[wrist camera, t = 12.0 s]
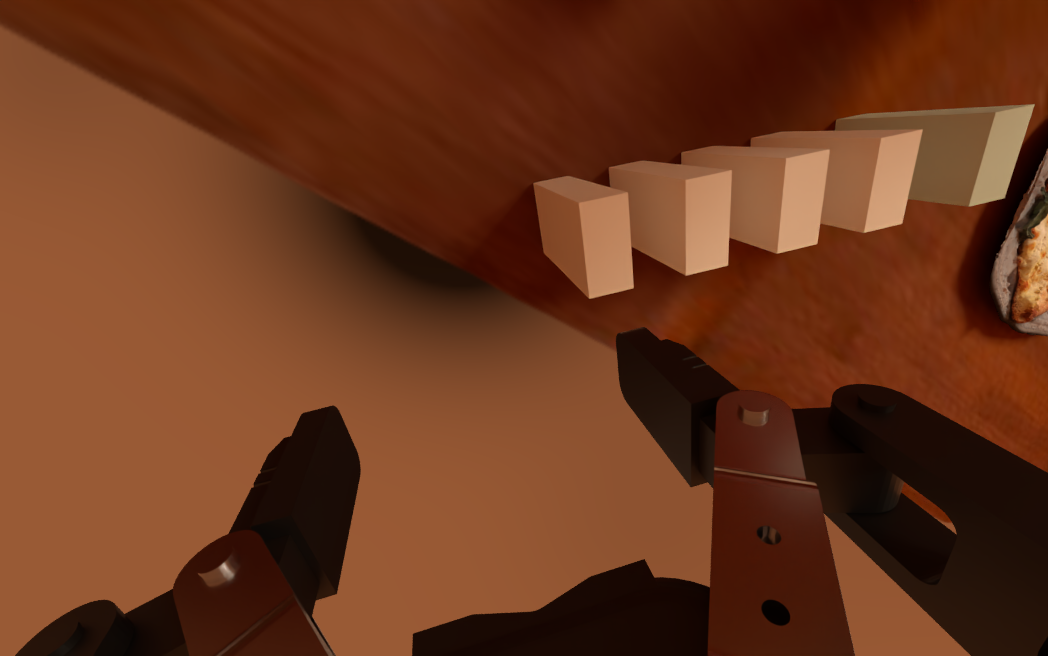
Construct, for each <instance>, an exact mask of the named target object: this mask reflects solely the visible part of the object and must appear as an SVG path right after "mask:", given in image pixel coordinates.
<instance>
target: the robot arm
mask: <svg viewBox="0 0 1048 656" xmlns="http://www.w3.org/2000/svg"><path fill="white" fill-rule="evenodd" d="M616 348H617V359H618V372H619V382H620V387H621V391H622V394H623V396H624V398H625V400H626V402H627V403H628V405H629V406H630V408H631V409H632V410H633V411H634V413H635V414H636V415H637V417H638V418H639V419H640V421H641V422H642V423H643V425H644V426H645V427H646V429H647V430H648V431H649V432H650V434H651V435H652V436H653V438H654V439H655V440H656V442H657V443H658V444H659V446H660V447H661V448H662V450H663V451H664V452H665V454H666V455H667V456H668V458H669V459H670V460H671V462H672V463H673V464H674V465H675V467H676V468H677V470H678V471H679V472H680V473H681V475H682V476H683V477H684V479H685V480H686V481H687V483H688V484H689V485H690V487H693V486H697V485H700V484H703V483H707V482H708V483H709V484H710V485H711V487H712V488H713V490H714V491H713V516H712V517H713V518H712V545H711V572H710V573H711V574H710V587H707V586H705V585H701V584H698V583H695V582H691V581H686V580H682V579H676V578H664V577H660V578H654V576H653V575H652V573H651V571H650V569H649V567H648V565H647V563H646V561H645V559H644V560H640V561H637V562H634V563H631V564H628V565H625V566H622V567H619V568H616V569H613V570H609V571H606V572H603V573H600V574H597V575H594V576H591V577H589V578H588V579H586V580H584V581H583V582H581V583H580V584H578V585H577V586H575V587H574V588H572V589H570V590H569V591H567V592H566V593H564V594H563V595H561V596H560V597H558V598H557V599H555V600H554V601H552V602H550V603H549V604H547V605H546V606H544V607H543V608H541V609H539V610H537V611H533V612H517V613H497V614H474V615H470V616H467V617H464V618H461V619H457V620H454V621H451V622H448V623H445V624H442V625H439V626H436V627H432V628H430V629H427V630H423V631H420V632H417V633H414V634H413V648H412V656H855V653H854V648H853V644H852V640H851V635H850V630H849V626H848V621H847V617H846V612H845V608H844V603H843V599H842V594H841V590H840V585H839V580H838V576H837V571H836V567H835V562H834V559H833V553H832V549H831V544H830V540H829V535H828V531H827V527H826V522H825V517H824V514H825V515H826V516H827V517H828V518H830V519H831V520H832V521H833V522H834V523H835V524H836V525H837V526H838V527H839V528H840V529H841V530H842V531H843V532H844V533H845V534H846V535H847V536H848V537H849V538H850V539H851V540H852V541H853V542H855V544H856V545H857V546H858V547H860V548H861V549H862V550H863V551H864V552H865V553H866V554H867V555H868V556H869V557H870V558H871V559H872V560H873V561H874V562H875V563H876V564H877V565H878V566H879V567H880V568H881V569H882V570H883V571H884V572H885V573H886V574H887V575H888V576H889V577H890V578H891V579H893V580H894V581H895V582H896V583H897V584H898V585H899V586H900V587H901V588H902V589H903V590H904V591H905V592H906V593H907V594H908V595H909V596H910V597H911V598H912V599H913V600H914V601H915V602H916V603H917V604H918V605H919V606H920V607H921V608H922V609H923V610H924V611H926V612H927V613H928V614H929V615H930V616H931V617H932V618H933V619H934V620H935V621H936V622H937V623H938V624H939V625H940V626H941V627H942V628H943V629H944V630H945V631H946V632H947V633H948V634H949V635H950V636H951V637H952V638H953V639H955V641H957V642H958V643H959V644H960V645H961V646H962V647H963V648H964V649H965V650H966V651H967V652H968V653H969V654H970V655H971V656H1048V473H1047V472H1045V471H1043V470H1042V469H1040V468H1038V467H1036V466H1034V465H1032V464H1031V463H1029V462H1027V461H1025V460H1023V459H1022V458H1020V457H1018V456H1016V455H1014V454H1012V453H1011V452H1009V451H1007V450H1005V449H1003V448H1002V447H1000V446H998V445H996V444H994V443H992V442H991V441H989V440H987V439H985V438H983V437H981V436H980V435H978V434H976V433H974V432H972V431H971V430H969V429H967V428H965V427H963V426H961V425H960V424H958V423H956V422H954V421H952V420H950V419H949V418H947V417H945V416H943V415H941V414H940V413H938V412H936V411H934V410H932V409H930V408H929V407H927V406H925V405H923V404H921V403H919V402H918V401H916V400H914V399H912V398H910V397H909V396H907V395H905V394H903V393H901V392H898V391H895V390H893V389H889V388H886V387H881V386H876V385H869V384H853V385H847V386H843V387H840V388H839V389H837V390H836V391H835V392H834V393H833V395H832V401H831V407H828V408H806V409H791V408H790V407H789V406H788V405H787V404H786V403H785V402H784V401H782V400H781V399H779V398H777V397H775V396H773V395H770V394H767V393H764V392H759V391H752V390H741V391H740V390H739V389H738V388H736V387H735V386H734V385H733V384H731V383H730V382H729V381H728V380H726V379H725V378H724V377H723V376H722V375H720V374H719V373H718V372H717V371H715V370H714V369H713V368H712V367H710V366H709V365H706V363H705V362H704V361H703V360H702V359H700V358H699V357H696V355H695V354H694V353H693V352H692V351H690V350H689V349H688V348H687V347H685V346H684V345H681V344H679V343H676V342H673V341H671V340H668V339H665V340H662V341H661V340H659V339H658V338H657V337H656V336H655V335H654V334H652V333H651V332H650V331H649V330H648V329H647V328H645V327H641V328H637V329H634V330H630V331H626V332H622V333H618V334H617V336H616ZM360 470H361V469H360V461H359V456H358V453H357V450H356V448H355V446H354V443H353V441H352V439H351V437H350V434H349V432H348V430H347V428H346V425H345V423H344V421H343V418H342V416H341V414H340V412H339V410H338V409H337V408H336V407H335V406H329V407H325V408H321V409H318V410H313V411H310V412H306V413H303V414H302V415H301V416H300V418H299V421H298V422H297V425H296V427H295V429H294V431H293V433H292V436H290V437H286V438H284V439H283V440H282V441H281V442H280V443H279V444H278V445H277V446H276V447H275V448H274V449H273V450H272V451H271V452H270V453H269V454H268V456H267V458H266V460H265V462H264V464H263V466H262V468H261V470H260V471H261V473H260V474H258V476H257V478H256V480H255V482H254V487H253V488H251V490H250V492H249V494H248V496H247V498H246V500H245V502H244V504H243V506H242V508H241V510H240V512H239V514H238V516H237V518H236V520H235V522H234V524H233V526H232V528H231V530H230V532H229V534H227V535H225V536H223V537H221V538H219V539H217V540H215V541H214V542H212V543H210V544H209V545H207V546H206V547H205V548H203V549H202V550H201V551H200V552H198V553H197V554H196V555H195V556H194V557H193V558H192V559H191V560H190V561H189V562H188V563H187V564H186V565H185V566H184V568H183V569H182V570H181V572H180V573H179V575H178V577H177V579H176V581H175V583H174V586H173V589H172V590H170V591H168V592H166V593H164V594H162V595H160V596H158V597H156V598H154V599H153V600H151V601H149V602H147V603H145V604H143V605H141V606H139V607H137V608H135V609H133V610H131V611H130V612H128V613H126V614H124V613H123V612H122V611H121V610H120V609H119V608H118V607H117V606H116V605H115V604H114V603H113V602H111V601H109V600H98V601H93V602H90V603H87V604H84V605H82V606H80V607H78V608H75V609H73V610H71V611H70V612H68V613H66V614H64V615H63V616H61V617H60V618H58V619H56V620H55V621H54V622H52V623H51V624H49V625H48V626H47V627H45V628H44V629H43V630H41V631H40V632H39V633H38V634H37V635H35V636H34V637H33V638H32V639H31V640H30V641H29V642H28V643H27V644H26V645H25V646H24V647H23V648H22V649H21V650H20V651H19V652H18V653H17V654H16V655H15V656H336V655H335V653H334V652H333V650H332V648H331V647H330V645H329V643H328V642H327V640H326V638H325V637H324V635H323V633H322V632H321V630H320V628H319V627H318V625H317V623H316V622H315V620H314V619H313V617H312V614H313V609H314V605H315V601H316V600H319V599H322V598H325V597H328V596H332V595H335V594H337V590H338V585H339V580H340V575H341V570H342V565H343V560H344V555H345V550H346V545H347V540H348V535H349V529H350V525H351V519H352V515H353V510H354V505H355V500H356V494H357V490H358V484H359V479H360ZM904 482H905V483H907V484H908V485H909V486H911V487H912V488H914V489H915V490H916V491H918V492H919V493H920V494H922V495H923V496H924V497H926V498H927V499H928V500H930V501H931V502H933V503H934V504H935V505H937V506H938V507H939V508H940V509H942V510H943V511H944V512H945V513H946V515H947V516H948V517H949V518H950V520H951V521H952V523H953V525H954V527H955V529H956V533H957V535H956V534H955V533H954V532H952V531H951V530H950V529H948V528H947V527H946V526H944V525H943V524H942V523H940V522H939V521H938V520H937V519H935V518H934V517H933V516H931V515H930V514H929V513H927V512H926V511H925V510H923V509H922V508H921V507H920V506H918V505H917V504H916V503H914V502H913V501H912V500H910V499H909V498H908V497H906V496H905V495H904V494H903V493H901V490H902V487H903V484H904Z"/></svg>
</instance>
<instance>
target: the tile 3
mask: <svg viewBox="0 0 1048 656" xmlns="http://www.w3.org/2000/svg"><path fill="white" fill-rule="evenodd" d="M829 153H830V149H811V148H775V147H739V146H710V147H705V148H700V149H695V150H690V151H686V152H681V165H689V166H698V167H708V168H717V169H726V170H732V182H731V205H730V229H729V238H732V239H735V240H738V241H741V242H744V243H747V244H750V245H753V246H756V247H759V248H762V249H765V250H768V251H771V252H774V253H777V254H778V253H782V252H786V251H790V250H794V249H798V248H803V247H807V246H811V245H815V244H817V242H818V234H819V227H820V220H821V212H822V205H823V198H824V190H825V183H826V175H827V168H828V161H829Z"/></svg>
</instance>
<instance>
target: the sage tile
mask: <svg viewBox="0 0 1048 656" xmlns="http://www.w3.org/2000/svg"><path fill="white" fill-rule="evenodd" d="M1034 105H1035V104H1032V105H1014V106H997V107H979V108H961V109H943V110H925V111H907V112H889V113H872V114H862V115H857V116H852V117H847V118H842V119H837V120H836V125H835V131H851V130H910V129H923V131H922V135H921V140H920V144H919V149H918V154H917V158H916V163H915V167H914V172H913V176H912V181H911V185H910V190H909V194H908V199H913V200H921V201H929V202H937V203H945V204H953V205H961V206H968V207H969V206H973V205H978V204H982V203H986V202H990V201H995V200H999V199H1003V198H1005V195H1006V192H1007V189H1008V186H1009V183H1010V180H1011V176H1012V173H1013V170H1014V167H1015V164H1016V161H1017V158H1018V155H1019V152H1020V148H1021V145H1022V142H1023V139H1024V136H1025V133H1026V130H1027V127H1028V123H1029V120H1030V117H1031V114H1032V111H1033V108H1034Z"/></svg>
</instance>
